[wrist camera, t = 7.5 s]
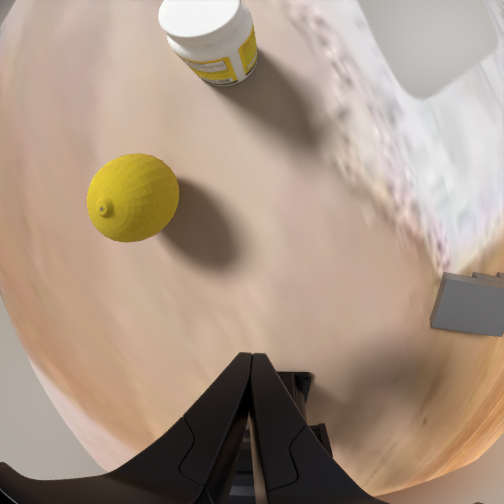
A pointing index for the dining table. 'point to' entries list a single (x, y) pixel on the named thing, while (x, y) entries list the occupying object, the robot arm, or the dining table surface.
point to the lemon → (132, 197)
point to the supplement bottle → (212, 38)
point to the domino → (469, 305)
